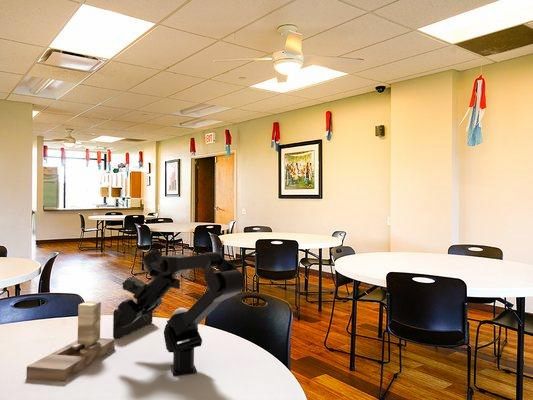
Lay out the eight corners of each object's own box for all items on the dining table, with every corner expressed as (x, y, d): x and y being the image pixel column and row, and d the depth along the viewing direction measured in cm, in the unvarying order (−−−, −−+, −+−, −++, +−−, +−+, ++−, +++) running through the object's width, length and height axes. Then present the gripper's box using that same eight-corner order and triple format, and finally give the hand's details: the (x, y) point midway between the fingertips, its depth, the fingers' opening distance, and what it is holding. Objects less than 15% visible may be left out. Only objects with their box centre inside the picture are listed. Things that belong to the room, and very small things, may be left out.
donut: (168, 334, 142) (169, 306, 142) (175, 332, 145) (176, 304, 145) (189, 340, 137) (190, 310, 137) (196, 337, 140) (196, 308, 140)
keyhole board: (64, 381, 103) (64, 369, 103) (26, 378, 105) (26, 366, 105) (114, 348, 127) (114, 339, 127) (83, 346, 129) (83, 336, 129)
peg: (91, 355, 120) (92, 305, 120) (76, 354, 121) (77, 304, 121) (100, 349, 125) (101, 301, 125) (86, 348, 126) (87, 301, 126)
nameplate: (148, 322, 157) (148, 297, 157) (152, 323, 156) (152, 297, 157) (112, 339, 137) (113, 310, 137) (117, 339, 136) (118, 310, 137)
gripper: (152, 264, 130) (120, 297, 131) (124, 273, 111) (87, 311, 112) (176, 289, 128) (143, 322, 130) (151, 302, 110) (113, 341, 111)
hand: (122, 323), depth 121 cm, fingers open, 9 cm apart
